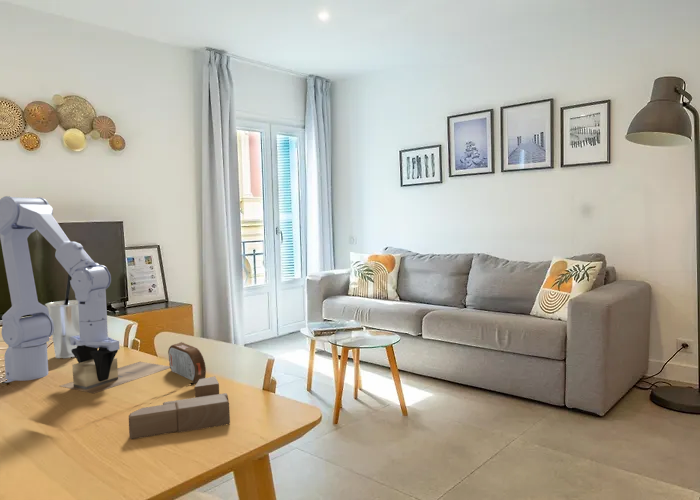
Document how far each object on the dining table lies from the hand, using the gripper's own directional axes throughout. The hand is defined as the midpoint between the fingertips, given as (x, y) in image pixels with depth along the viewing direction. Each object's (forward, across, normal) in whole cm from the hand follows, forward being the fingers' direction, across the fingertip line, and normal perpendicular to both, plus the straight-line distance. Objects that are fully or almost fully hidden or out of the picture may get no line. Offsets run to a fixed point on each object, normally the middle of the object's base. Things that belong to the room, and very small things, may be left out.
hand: (96, 378), depth 119 cm
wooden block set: (+3, +31, -4) cm, 31 cm away
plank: (+2, 0, +6) cm, 6 cm away
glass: (+2, -34, +16) cm, 38 cm away
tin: (+2, +14, +13) cm, 20 cm away
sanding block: (+1, 0, 0) cm, 1 cm away
